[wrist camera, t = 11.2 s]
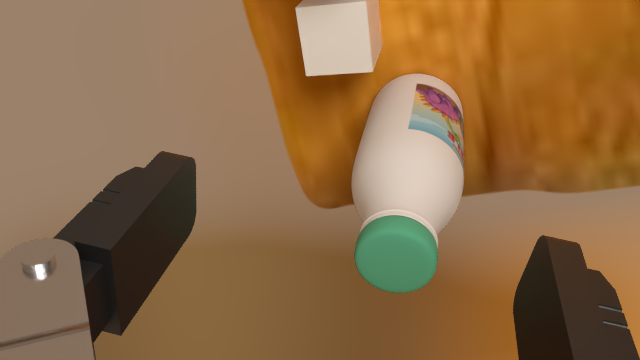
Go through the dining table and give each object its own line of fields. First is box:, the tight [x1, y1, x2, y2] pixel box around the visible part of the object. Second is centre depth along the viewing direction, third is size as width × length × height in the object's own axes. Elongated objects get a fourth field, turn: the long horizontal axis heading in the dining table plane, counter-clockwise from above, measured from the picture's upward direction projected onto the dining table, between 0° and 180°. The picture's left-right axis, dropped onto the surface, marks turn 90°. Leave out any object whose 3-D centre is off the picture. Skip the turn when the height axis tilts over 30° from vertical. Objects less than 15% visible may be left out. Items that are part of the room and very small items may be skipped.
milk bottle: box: [352, 74, 464, 293], centre depth 38 cm, size 8×8×20 cm
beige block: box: [295, 0, 382, 76], centre depth 41 cm, size 5×5×6 cm
